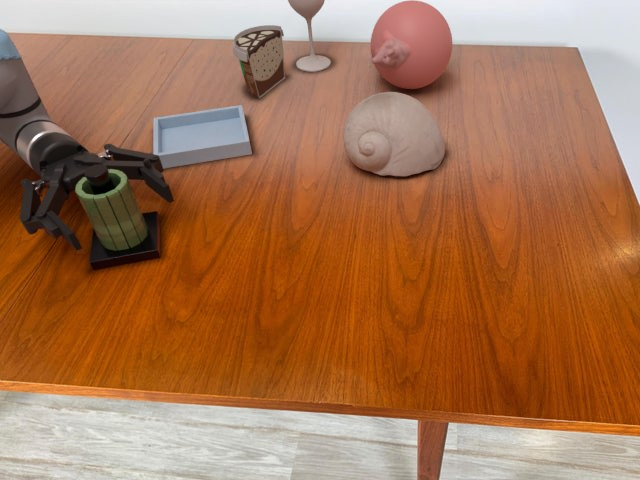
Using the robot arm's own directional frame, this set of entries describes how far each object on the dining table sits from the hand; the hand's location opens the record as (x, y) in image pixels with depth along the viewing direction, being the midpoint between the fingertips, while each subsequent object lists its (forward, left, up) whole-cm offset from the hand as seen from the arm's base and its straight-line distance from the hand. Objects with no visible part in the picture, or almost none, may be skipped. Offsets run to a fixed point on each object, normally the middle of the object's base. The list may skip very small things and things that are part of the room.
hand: (124, 217), depth 77 cm
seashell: (+41, +13, -7) cm, 44 cm away
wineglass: (+34, +51, -7) cm, 62 cm away
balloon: (+49, +35, -7) cm, 61 cm away
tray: (+10, +27, -7) cm, 29 cm away
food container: (+22, +45, -7) cm, 50 cm away
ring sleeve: (-2, +3, -5) cm, 6 cm away
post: (-2, +3, -7) cm, 7 cm away
